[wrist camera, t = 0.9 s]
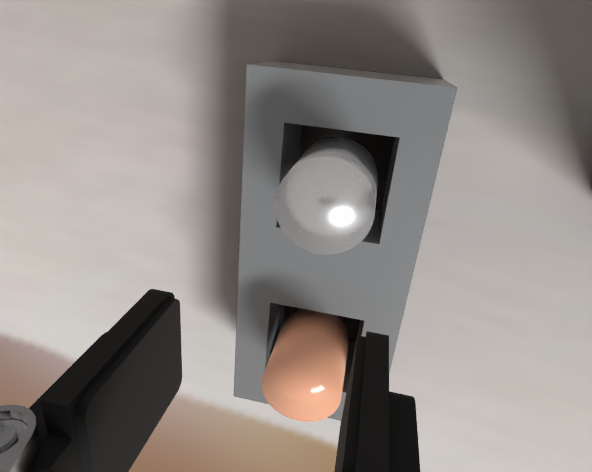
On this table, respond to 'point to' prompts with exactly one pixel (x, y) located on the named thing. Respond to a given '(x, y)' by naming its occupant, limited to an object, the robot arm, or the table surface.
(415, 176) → the plunger housing
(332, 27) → the table surface
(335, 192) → the metal plunger
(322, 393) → the peach rounded cylinder
